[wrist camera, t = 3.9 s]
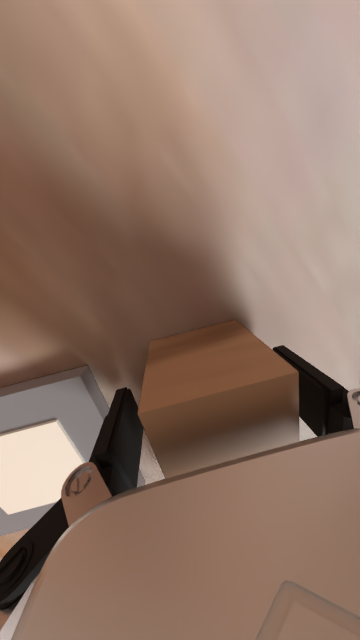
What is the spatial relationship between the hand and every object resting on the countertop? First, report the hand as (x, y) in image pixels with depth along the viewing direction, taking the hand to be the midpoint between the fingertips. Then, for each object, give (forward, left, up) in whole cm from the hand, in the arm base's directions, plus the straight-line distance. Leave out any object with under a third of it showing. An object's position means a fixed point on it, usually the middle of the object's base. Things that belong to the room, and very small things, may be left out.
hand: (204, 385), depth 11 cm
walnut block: (0, 0, -2) cm, 2 cm away
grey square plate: (+4, -14, -2) cm, 14 cm away
